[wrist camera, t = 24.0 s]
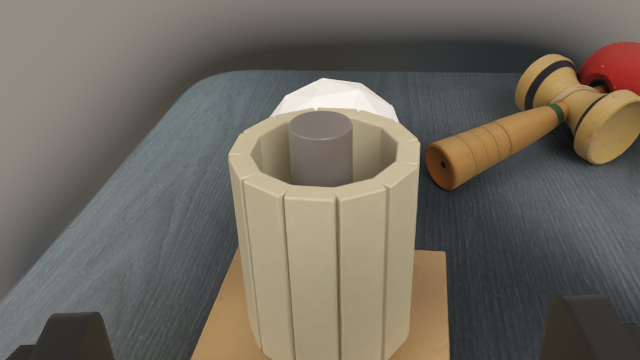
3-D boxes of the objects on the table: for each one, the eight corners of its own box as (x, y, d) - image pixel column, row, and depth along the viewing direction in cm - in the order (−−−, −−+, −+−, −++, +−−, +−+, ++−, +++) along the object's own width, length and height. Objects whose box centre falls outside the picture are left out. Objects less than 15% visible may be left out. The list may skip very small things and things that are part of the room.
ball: (342, 227, 38) (391, 107, 38) (394, 263, 30) (455, 114, 30) (228, 185, 36) (279, 56, 35) (254, 213, 28) (320, 50, 28)
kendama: (493, 245, 34) (709, 125, 39) (479, 141, 31) (713, 30, 37) (413, 199, 40) (608, 103, 46) (395, 111, 38) (604, 20, 43)
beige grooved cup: (232, 368, 23) (204, 192, 19) (270, 259, 29) (256, 104, 25) (406, 386, 22) (417, 205, 18) (411, 270, 28) (421, 110, 24)
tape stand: (177, 430, 23) (119, 195, 17) (244, 260, 31) (220, 65, 26) (449, 462, 21) (481, 216, 16) (443, 275, 30) (463, 71, 24)
